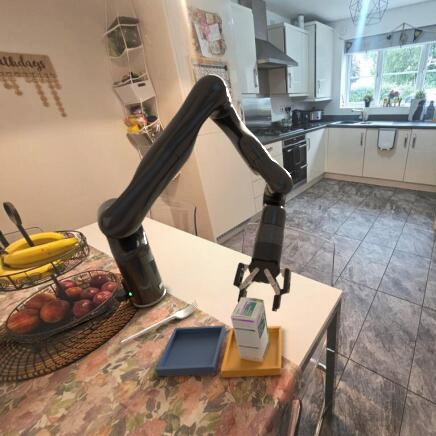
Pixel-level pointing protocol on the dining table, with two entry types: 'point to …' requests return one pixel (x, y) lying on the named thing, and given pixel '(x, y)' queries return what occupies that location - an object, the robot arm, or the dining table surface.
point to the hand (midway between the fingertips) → (257, 308)
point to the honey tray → (241, 367)
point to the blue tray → (192, 351)
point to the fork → (180, 315)
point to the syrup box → (251, 329)
